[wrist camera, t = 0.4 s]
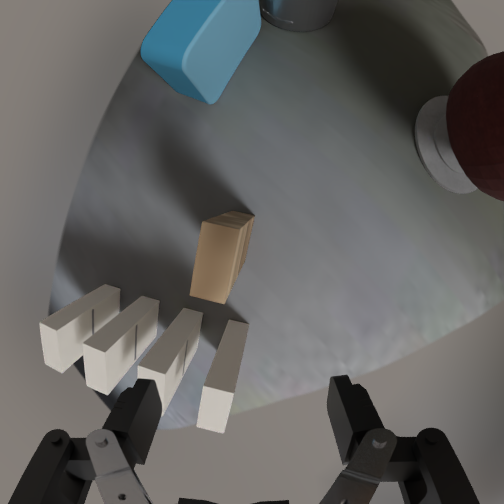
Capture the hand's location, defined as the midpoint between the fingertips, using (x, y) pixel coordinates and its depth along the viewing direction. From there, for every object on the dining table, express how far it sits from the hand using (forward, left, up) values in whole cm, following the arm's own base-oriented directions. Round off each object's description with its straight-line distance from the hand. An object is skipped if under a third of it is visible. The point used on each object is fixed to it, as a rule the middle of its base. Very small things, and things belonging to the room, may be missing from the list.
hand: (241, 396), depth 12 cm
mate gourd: (-28, +9, -21) cm, 36 cm away
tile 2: (+8, +2, -20) cm, 22 cm away
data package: (-17, -19, -21) cm, 33 cm away
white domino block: (+13, -8, -20) cm, 25 cm away
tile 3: (+11, -3, -20) cm, 23 cm away
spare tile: (-2, -5, -20) cm, 21 cm away
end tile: (+15, -13, -20) cm, 28 cm away
